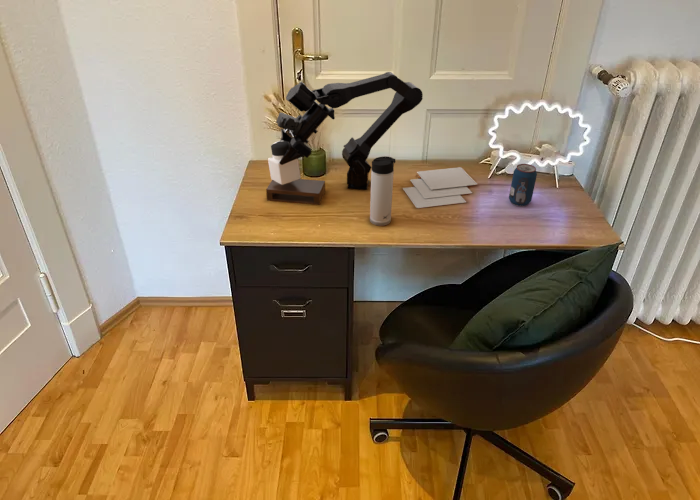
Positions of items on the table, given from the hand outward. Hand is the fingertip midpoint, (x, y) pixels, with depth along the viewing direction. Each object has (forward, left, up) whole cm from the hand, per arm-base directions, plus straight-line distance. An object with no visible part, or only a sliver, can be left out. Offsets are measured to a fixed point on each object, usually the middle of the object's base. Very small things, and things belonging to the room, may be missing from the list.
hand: (278, 158), depth 167 cm
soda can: (-76, -9, -13) cm, 77 cm away
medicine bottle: (-2, -1, -7) cm, 8 cm away
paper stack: (-51, -15, -13) cm, 54 cm away
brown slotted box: (-5, -1, -13) cm, 14 cm away
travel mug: (-34, +10, -13) cm, 37 cm away
